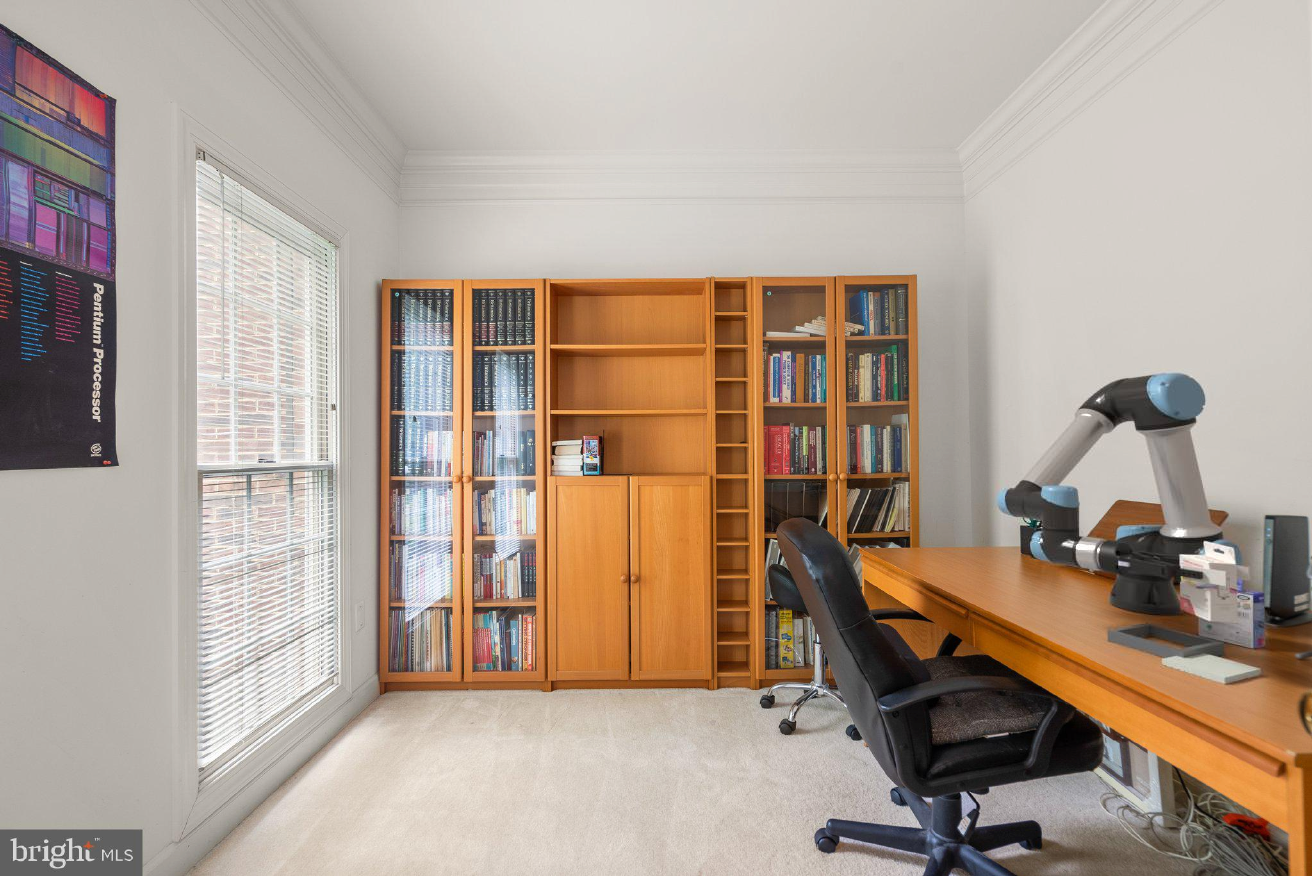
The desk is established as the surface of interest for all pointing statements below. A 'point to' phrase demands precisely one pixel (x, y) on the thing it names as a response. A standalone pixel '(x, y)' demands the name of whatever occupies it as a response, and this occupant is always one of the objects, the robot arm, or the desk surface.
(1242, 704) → the desk surface
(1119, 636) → the dock
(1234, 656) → the desk surface
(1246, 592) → the ink cartridge box
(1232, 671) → the board
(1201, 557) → the ink cartridge box
